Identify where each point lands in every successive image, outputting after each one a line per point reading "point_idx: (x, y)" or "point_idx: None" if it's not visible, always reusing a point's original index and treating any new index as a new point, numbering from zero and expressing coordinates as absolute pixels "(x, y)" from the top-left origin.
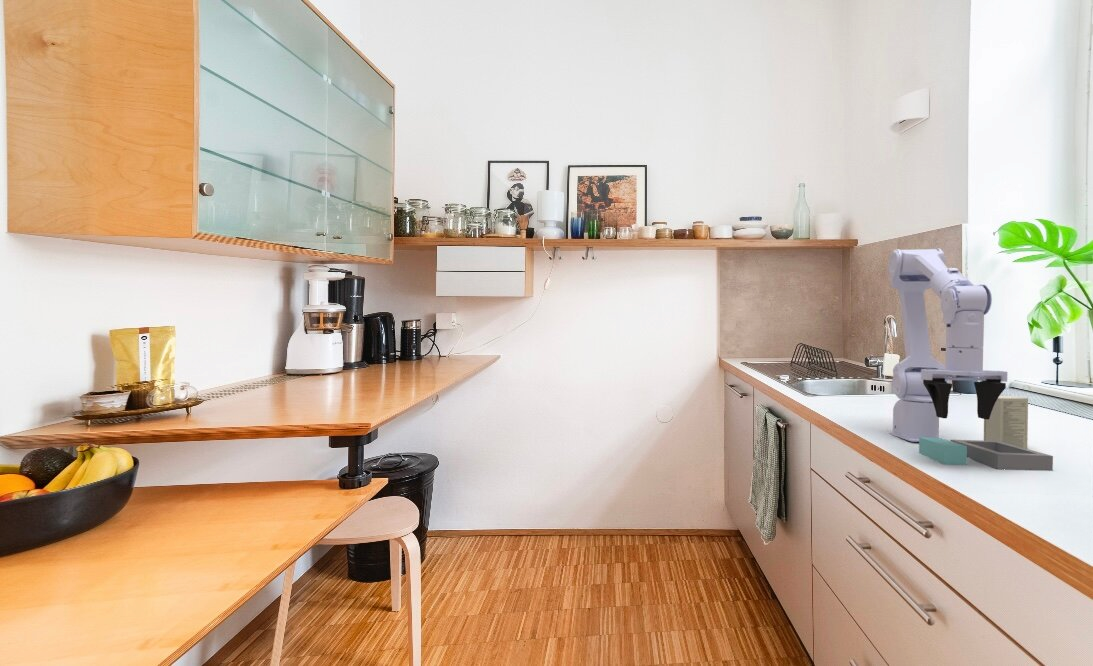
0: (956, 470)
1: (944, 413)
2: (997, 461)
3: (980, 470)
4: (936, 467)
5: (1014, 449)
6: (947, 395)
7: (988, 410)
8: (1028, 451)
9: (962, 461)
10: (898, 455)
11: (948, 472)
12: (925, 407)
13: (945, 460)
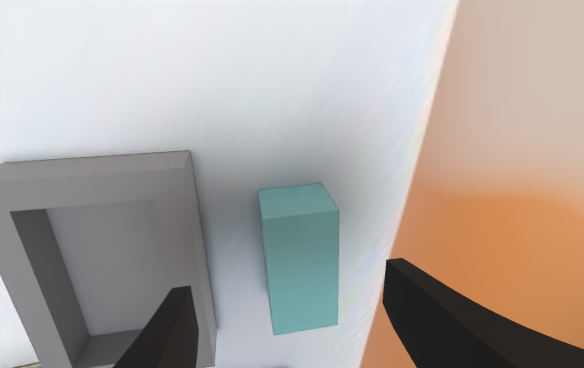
0: (327, 121)
1: (416, 268)
2: (186, 161)
3: (248, 137)
4: (364, 148)
5: (51, 299)
6: (494, 337)
7: (173, 315)
8: (25, 250)
9: (271, 194)
10: (379, 271)
11: (369, 88)
12: None
13: (322, 189)
